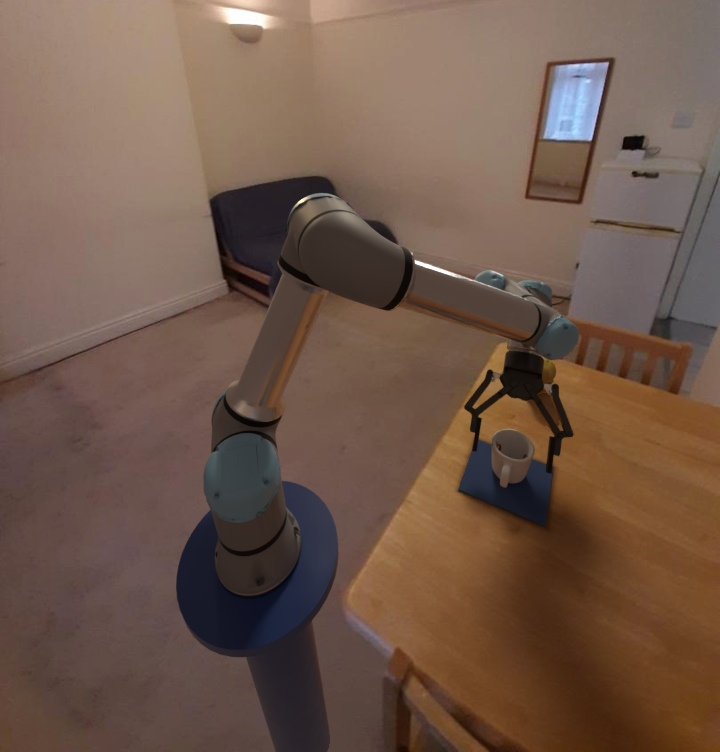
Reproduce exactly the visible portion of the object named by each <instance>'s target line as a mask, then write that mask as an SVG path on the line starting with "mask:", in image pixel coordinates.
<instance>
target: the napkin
mask: <svg viewBox="0 0 720 752" xmlns="http://www.w3.org/2000/svg"><path fill="white" fill-rule="evenodd" d="M553 473H554V466H553V467H552V474H549V473H547V472H546V462H542V461H539V460H537V459H534V458H533V459H532V461H531V464H530V466H529V469H528V471H527V474H526V476H525V478H524V479H523V480H522V481H521V482H519V483H514V484H513V483H508V485H507V487H506V488H505V487H502V486H501V485H500V479H499V478H498V477H497V476H496V474H495V473H494V471H493V468H492V443H490V442H486V441H484V440H481V439H479V440H478V446H477V451H476V452H475V451H472V450H471V452H470V455H469V457H468V461H467V463H466V466H465V469H464V472H463V475H462V478H461V480H460V482H459V483H460V484H459V486H458V490H457V491H459V492H461V493H464V494H466V495H469V496H471V497H473V498H476V499H478V500H479V501H483V502H485V503H487V504H490V505H491V506H495V507H497V508H499V509H501V510H504V511H506V512H508V513H511V514H513V515H514V516H519V517H520V518H522V519H524V520H527V521H530V522H532V523H534V524H537V525H538V526H541V527H544V528H547V527H546V526H547V521H548V520H547V519H548V511H549V503H550V497H551V496H550V495H551V488H552V480H553Z"/></svg>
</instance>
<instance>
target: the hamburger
mask: <svg viewBox="0 0 720 752" xmlns="http://www.w3.org/2000/svg"><path fill="white" fill-rule="evenodd" d="M542 358H543V359H544V368H543V376H542V381H543V383H544V384H552V385H553V384H554V379H555V377H556V375H557V368H556V364H555V363H554V361H553V360H549V359H546V358H545V357H542ZM545 393H547V391H546V390H545V389H543V390H542V391H541V392H540V393H538V395H542V394H545Z"/></svg>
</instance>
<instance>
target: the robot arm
mask: <svg viewBox="0 0 720 752" xmlns="http://www.w3.org/2000/svg"><path fill="white" fill-rule="evenodd" d="M286 233H287V235H286V239H285V241H284V243H283V246H282V249H281V251H280V254H279V256H278V259H277V266H278V268H279V270H280V272H281V276H280V279H279V282H278V283H277V286H276V288H275V291H274V293H273V296H272V298H271V301H270V303H269V306H268V308H267V311H266V313H265V315H264V318H263V320H262V323H261V325H260V327H259V331H258V333H257V335H256V338H255V340H254V342H253V345H252V348H251V350H250V353H249V355H248V357H247V360H246V363H245V365H244V367H243V370H242V373H241V375H240V376H239V377H240V378H239V379H235V380H234V381H232V382H231V383H230V384H229V385H228V387H227V388H226V389H225V390H224V391H223V392H222V393H221V394H220V395H219V396H218V397H217V399H216V402H215V404H214V407H213V409H212V414H211V420H210V421H211V443H210V455H209V456H208V458H207V460H206V462H205V464H204V465H205V466H204V468H203V477H202V478H203V481H202V482H203V485H202V486H203V494H204V496H205V500H206V501H205V502H206V503H207V506H208V507H209V511H210V510H211V514H212V517H213V520H214V523H215V527H216V530H217V533H218V542H217V545H216V550H215V568H216V572H217V575H218V578H219V581H220V583H221V584H222V586H223V587H224V588H225V589H226V590H227V591H228V592H229V593H230V594H232V595H234V596H236V597H239V598H244V599H253V598H259V597H262V596H265V595H268V594H270V593H272V592H273V591H275V590H276V589H278V588H279V587H280V586H281V585H283V584H284V583H285V582H286V581H287V580H288V578H289V577H290V576H291V574H292V573H293V571H294V570H295V568H296V566H297V564H298V561H299V558H300V555H301V549H302V539H301V532H300V528H299V525H298V523H297V521H296V519H295V517H294V516H293V514H292V513H291V512H290V511H289V510H288V509H287V507H286V504H285V498H284V492H283V486H282V481H283V480H282V472H281V471H282V470H281V463H280V458H279V450H278V445H277V436H276V435H277V433H276V432H277V429H278V427H279V424H280V422H281V420H282V418H283V416H284V412H285V410H286V407H287V403H286V399H285V397H284V393H285V391H286V390H287V386H288V385H289V383H290V380H291V377H292V375H293V374H294V371H295V369H296V366H297V365H298V363H299V360H300V357H301V356H302V353H303V352H304V349H305V347H306V344H307V342H308V340H309V338H310V335H311V333H312V330H313V328H314V326H315V324H316V323H317V320H318V318H319V315H320V313H321V310H322V308H323V307H324V304H325V302H326V299H327V297H328V295H329V293H331V294H333V295H335V296H339V297H341V298H344V299H346V300H349V301H353V302H355V303H359V304H361V305H364V306H368V307H370V308H375V309H378V310H382V311H386V312H391V311H395V310H396V309H398V308H400V309H404V310H407V311H411V312H414V313H416V314H417V313H418V314H421V315H424V316H428V317H431V318H435V319H438V320H441V321H444V322H449V323H452V324H454V325H455V324H456V325H458V326H462V327H465V328H469V329H472V330H476V331H479V332H483V333H487V334H488V335H489V334H490V335H493V336H496V337H500V338H503V339H507V343H506V349H507V350H508V351H506V352H505V357H504V363H503V369H502V372H501V373H499V372H496V371H493V369H490V368H489V369H487V371H486V375H485V377H484V379H483V381H482V382H481V383H480V384H479V386H478V387H477V388H476V390H475V391H474V392H473V393H472V395H471V396H470V397H469V399H468V400H467V401H466V403H465V404H464V406H463V408H464V410H465V411H466V412H468V413H469V414H470V415H471V421H470V426H469V432H470V433H473V434H474V437H473V444H472V449H471V452H472V451H475V452H476V451H477V446H478V440H480V433H481V426H482V420H483V418H482V417H480V415H481V414H482V413H484V412H485V411H486V410H487V409H489V408H490V407H491V406H493V405H494V404H496V402H499V400H501V399H502V398H503V397H505V396H506V395H507V396H508V397H510V398H511V399H519V400H521V401H524V402H530V401H531V402H532V403H533V405H534V407H536V409H537V410H538V413H539V414H540V415H541V417H542V418H543V420H544V422H545V423H546V425H547V427H548V428H549V429H550V431H551V433H552V434H553V436H551V435H550V436H549V437H548V447H547V456H546V462H545V464H546V472H547V473H549V474H552V475H553V473H552V467H553V468H554V456H556V457H560V455H561V452H562V441H563V439H565V438H572V437H574V435H575V434H574V430H573V428H572V426H571V424H570V421H569V418H568V415H567V413H566V410H565V408H564V405H563V402H562V400H561V397H560V386H559V384H557V383H552V384H544V383H543V381H542V376H543V368H544V359H543V358H542V357H545V358H546V359H549V360H552V361H558V360H562V359H564V358H565V357H567V356H568V355H569V354H571V353H572V352H573V351H574V349H575V347H576V346H577V345H578V342H579V340H580V331H579V329H578V327H577V326H576V324H575V323H573V322H572V321H571V320H569V318H568V317H567V316H566V315H563V314H561V313H560V312H558V311H557V310H555V308H553V290H552V288H551V287H550V285H549V284H547V283H546V282H541V281H538V280H530V279H527V280H525V279H524V280H521V281H519V282H516V281H514V280H513V279H510V278H509V277H507V276H505V275H503V273H500V272H497V271H495V270H492V269H487V270H483V271H481V272H480V273H478V274H477V275H476V276H475V277H474V279H472V278H469V277H467V276H464V275H462V274H458V273H456V272H453V271H450V270H447V269H446V268H442V267H439V266H437V265H433V264H431V263H428V262H425V261H423V260H420V259H417V258H415V257H414V254H413V252H412V251H411V249H409V248H407V247H405V246H401V245H399V244H397V243H395V242H393V241H391V240H389V239H387V238H386V237H384V236H383V235H381V234H380V233H379V232H377V231H376V230H375V229H374V228H373V227H371V226H370V224H368V222H366V221H365V220H364V219H363V218H362V217H361V216H360V215H359V214H358V213H357V212H356V211H355V209H354V208H353V206H352V205H351V204H350V203H349V202H347V201H346V200H343V199H342V198H340V197H338V196H336V195H334V194H331V193H327V192H325V193H324V192H319V193H312V194H309V195H307V196H305V197H303V198H302V199H300V200H298V201H297V202H296V203H295V205H293V207H292V208H291V209H290V212H289V215H288V218H287V223H286ZM496 380H499V381H500V383H501V385H502V387H501V388H500V389H499V390H498V391H497V392H495V393H494V394H493V395H492V396H490V397H489V398H488V399H486V400H485V401H483V402H482V403H481V404H479V405H478V406H477V407H476V408H474V406H475V404H476V403H477V402H478V400H479V399H480V398H481V397H482V395H483V394H484V393H485V391H486V390H487V389H488V388H489V387H490V384H491V383H495V382H496ZM543 389H545V390H546V391H547V392H546V394H547V395H548V396H550V399H551V402H552V404H553V406H554V410H555V413H556V415H557V419H558V420H559V423H560V426H561V428H562V430H561V429H560V428H559V426H558V425H557V423H556V421H555V420H554V419H553V417H552V415H551V413H550V412H549V411H548V408H546V406H545V404H544V402H543V400H542V399H541V397H540V396H539V394H538V393H540V392H541V391H542V390H543Z"/></svg>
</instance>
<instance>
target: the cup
mask: <svg viewBox="0 0 720 752" xmlns="http://www.w3.org/2000/svg"><path fill="white" fill-rule="evenodd" d="M491 444H492V468H493V471H494V473H495V474H496V476H497V477H498V478H499V479H500V485H501V486H502V487H505V488H506V487H507V485H508V483H513V484H514V483H519V482H521V481H522V480H523V479H524V478H525V476H526V474H527V471H528V469H529V466H530V464H531V461H532V459H534V456H535V451H536V449H535V445H534V442H533V441H532V440H531V438H529V437H528V436H527V435H526V434H525V433H523V432H521V431H519V430H516V429H512V428H503V429H499V430H497V431H496V432H495V433H494V434H493V436H492V438H491Z"/></svg>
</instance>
